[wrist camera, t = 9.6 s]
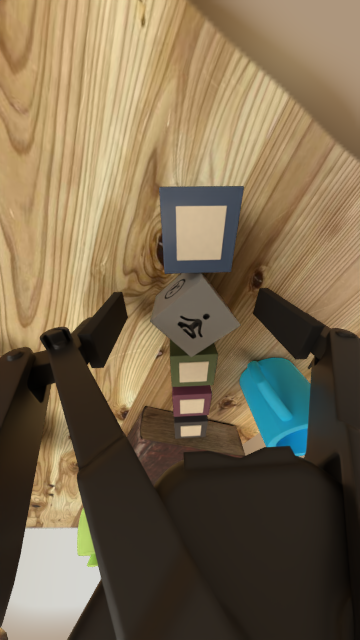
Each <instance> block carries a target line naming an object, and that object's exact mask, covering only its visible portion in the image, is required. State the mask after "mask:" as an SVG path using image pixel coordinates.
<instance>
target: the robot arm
mask: <svg viewBox="0 0 360 640" xmlns="http://www.w3.org/2000/svg"><path fill="white" fill-rule="evenodd" d="M253 314H254V315H255V316H256V317H257V318H258V319H259V320H260V321H261V323H262V324H263V325H264V326H265V327H266V328H267V329H268V330H269V331H270V332H271V333H272V334H273V335H274V337H275V338H276V339H277V340H278V341H279V342H280V343H281V344H282V345H283V346H284V347H285V348H286V349H287V351H288V352H289V353H290V354H291V355H292V356H293V357H294V358H295V359H307V357H308V355H309V354H310V352H311V353H312V354H313V355H314V358H313V360H312V361H311V363H310V365H309V366H308V369H310V367H312V370H311V385H310V400H309V415H308V431H307V446H306V453H305V457H304V458H301V457H299V456H296V455H295V454H294V453H293V451H292V449H291V447H290V446H278V447H264V448H262V449H260V450H257V451H255V452H253V453H251V454H249V455H247V456H244V457H242V458H236V457H233V456H229V455H225V454H221V453H217V452H213V451H196V452H183V460H182V461H180V462H177V463H176V464H174V465H173V466H171V467H170V468H169V469H167V470H166V471H165V472H164V473H163V474H162V475H161V477H160V478H159V479H158V480H157V482H156V483H155V485H154V486H153V484H152V482H151V480H150V478H149V477H148V475H147V473H146V471H145V469H144V467H143V466H142V464H141V462H140V460H139V458H138V456H137V455H136V453H135V451H134V449H133V447H132V445H131V444H130V442H129V440H128V438H127V437H126V435H125V434H124V432H123V431H122V429H121V427H120V425H119V423H118V422H117V420H116V418H115V416H114V414H113V412H112V410H111V409H110V407H109V405H108V403H107V401H106V399H105V397H104V396H103V394H102V392H101V390H100V388H99V386H98V384H97V383H96V381H95V379H94V377H93V375H92V373H91V372H90V370H89V368H88V366H87V364H88V363H90V365H91V367H92V368H104V366H105V364H106V362H107V359H108V357H109V355H110V353H111V351H112V349H113V347H114V345H115V343H116V341H117V339H118V337H119V335H120V333H121V330H122V328H123V326H124V324H125V322H126V320H127V318H128V316H127V312H126V307H125V302H124V298H123V293H122V292H114V293H113V294H112V295H111V296H110V298H109V299H108V300H107V301H106V302H105V303H104V304H103V306H102V307H101V308H100V309H99V310H98V311H97V312H96V314H95V315H94V316H93V317H89V318H87V319H86V320H84V321H83V322H82V323H81V324H80V325H79V326H78V327H77V328H76V329H75V330H74V331H73V332H72V333H71V334H70V331H69V329H68V328H67V327H57V328H53V329H51V330H48V331H46V332H45V333H43V334H42V335H41V336H40V340H41V342H42V343H43V345H44V347H45V348H46V350H45V351H41V352H37V353H33V352H32V350H31V349H30V348H28V347H23V348H18V349H14V350H12V351H9V352H7V353H6V354H5V355H3V356H2V357H1V358H0V640H8V637H7V633H6V632H5V631H4V630H3V629H2V628H1V626H2V623H3V620H4V616H5V613H6V609H7V606H8V602H9V599H10V596H11V592H12V588H13V585H14V581H15V577H16V572H17V568H18V563H19V559H20V554H21V549H22V543H23V537H24V532H25V527H26V521H27V516H28V510H29V505H30V499H31V494H32V488H33V483H34V477H35V471H36V466H37V460H38V455H39V449H40V444H41V438H42V433H43V427H44V422H45V416H46V411H47V405H48V400H49V394H50V389H51V384H53V383H56V386H57V390H58V393H59V397H60V401H61V404H62V408H63V411H64V415H65V419H66V422H67V426H68V430H69V433H70V437H71V441H72V444H73V448H74V452H75V455H76V459H77V463H78V467H79V472H78V474H77V482H78V487H79V491H80V495H81V499H82V503H83V507H84V511H85V515H86V519H87V523H88V527H89V531H90V535H91V539H92V543H93V547H94V551H95V555H96V559H97V563H98V567H99V570H100V575H101V580H100V582H99V584H98V586H97V587H96V589H95V591H94V593H93V595H92V596H91V598H90V600H89V602H88V603H87V605H86V607H85V609H84V611H83V612H82V614H81V616H80V618H79V619H78V621H77V623H76V625H75V627H74V628H73V630H72V632H71V634H70V635H69V637H68V639H67V640H360V338H358V336H357V335H355V334H354V333H352V332H350V331H347V330H344V329H339V328H332V329H331V328H329V327H328V326H326V325H325V324H323V323H321V322H320V321H318V320H317V319H315V318H314V317H312V316H311V315H309V314H308V313H305V312H303V311H302V310H300V309H299V308H297V307H296V306H294V305H293V304H291V303H290V302H288V301H287V300H285V299H283V298H282V297H280V296H279V295H277V294H276V293H274V292H273V291H271V290H270V289H268V288H259V292H258V296H257V300H256V304H255V308H254V311H253Z"/></svg>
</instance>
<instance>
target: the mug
mask: <svg viewBox="0 0 360 640" xmlns="http://www.w3.org/2000/svg"><path fill="white" fill-rule="evenodd" d="M247 367H248V368H247V369H246V370H245V371H244V372H243V373H242V375H241V377H240V386H241V389H242V391H243V393H244V396H245V398H246V401H247V403H248V405H249V408H250V410H251V412H252V415H253V417H254V419H255V422H256V424H257V426H258V429H259V431H260V433H261V436H262V438H263V440H264V443H265V445H266V447H278V446H290V447H291V449H292V451H293V453H294V454H295V455H296V456H303V455H305V453H306V446H307V431H308V415H309V400H310V385H311V384H310V383H309V382H308V380H307V379H306V378H305V377H304V376H303V375H302V374H301V372H300V371H299V370H298V369H297V368H296V367H295V366H294V364H293V363H291V362H290V361H289V360H287V359H284V358H268V359H263V360H261V361H258V362H257V361H252V362H250V363H249V364H248V365H247Z"/></svg>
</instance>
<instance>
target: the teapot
mask: <svg viewBox="0 0 360 640" xmlns="http://www.w3.org/2000/svg"><path fill="white" fill-rule="evenodd" d="M77 548H78V549H77V551H78V555H79V556H91V557H90V559H89V562H88V564H87V566H88V567H95V566H98V563H97V559H96V555H95V551H94V547H93V543H92V539H91V535H90V531H89V527H88V523H87V519H86V515H85V511H84V508H83V510H82V512H81V516H80V520H79V526H78V537H77Z"/></svg>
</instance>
